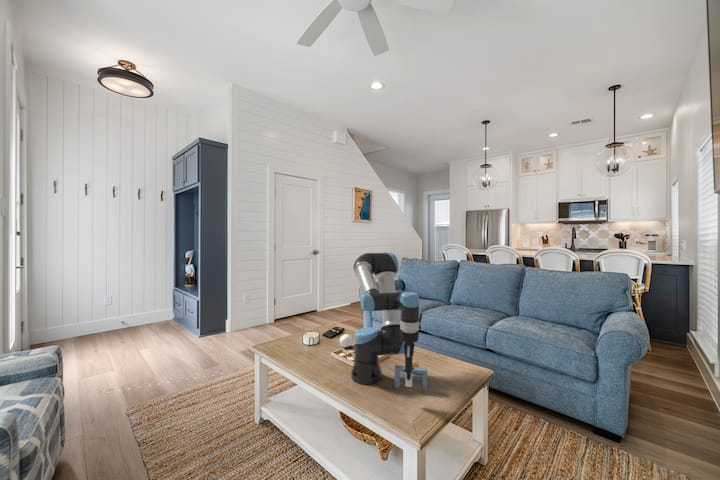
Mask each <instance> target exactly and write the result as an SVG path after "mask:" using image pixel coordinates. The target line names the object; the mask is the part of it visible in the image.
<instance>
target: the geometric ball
mask: <svg viewBox="0 0 720 480" xmlns="http://www.w3.org/2000/svg"><path fill="white" fill-rule="evenodd" d="M339 344H340V346H341V347H343V348H346V347H347V348H349V347H351V346H352V344H353V338H352V336H351V335H350V334H347V333H346V334H343V335H341V336H340V338H339ZM350 345H351V346H350ZM348 346H349V347H348Z"/></svg>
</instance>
